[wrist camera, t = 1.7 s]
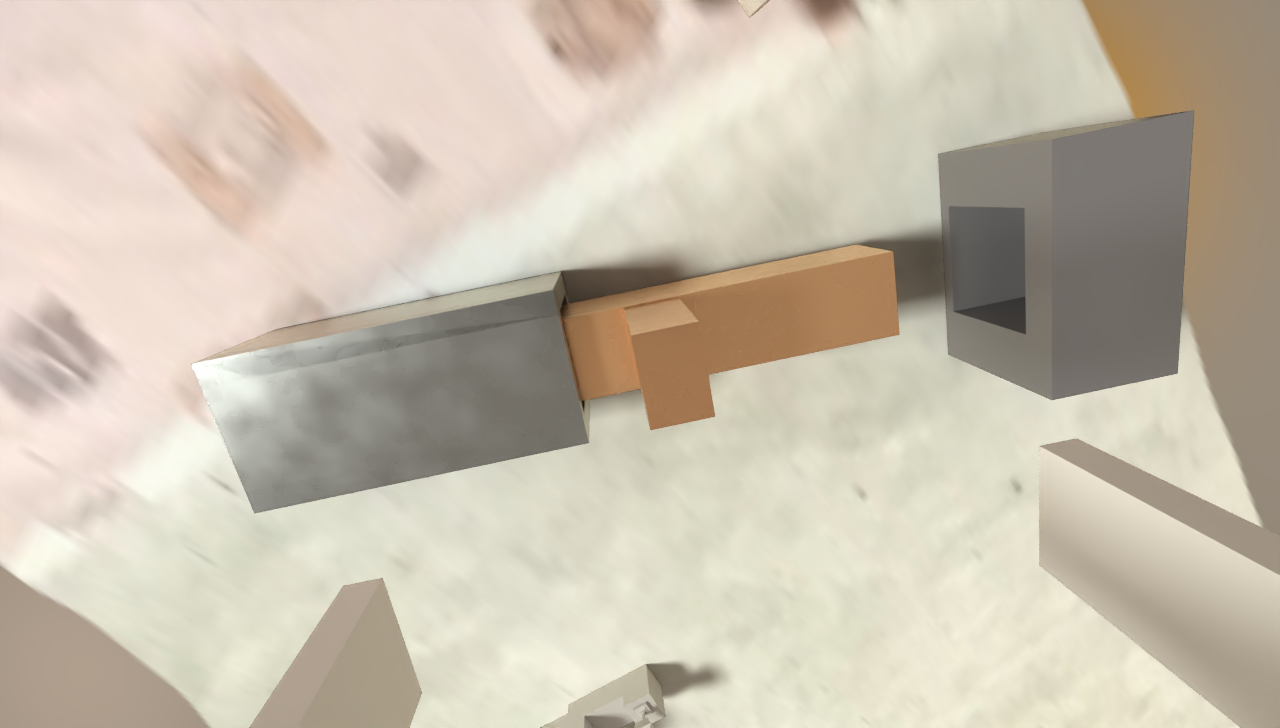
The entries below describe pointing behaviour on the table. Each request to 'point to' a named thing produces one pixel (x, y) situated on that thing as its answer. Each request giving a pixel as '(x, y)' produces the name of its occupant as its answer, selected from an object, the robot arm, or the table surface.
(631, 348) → the orange-brown sliding bolt
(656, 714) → the gateway
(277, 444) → the sleeve
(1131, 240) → the socket block
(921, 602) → the table surface
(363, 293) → the table surface
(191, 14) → the table surface
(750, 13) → the cream cross joint
